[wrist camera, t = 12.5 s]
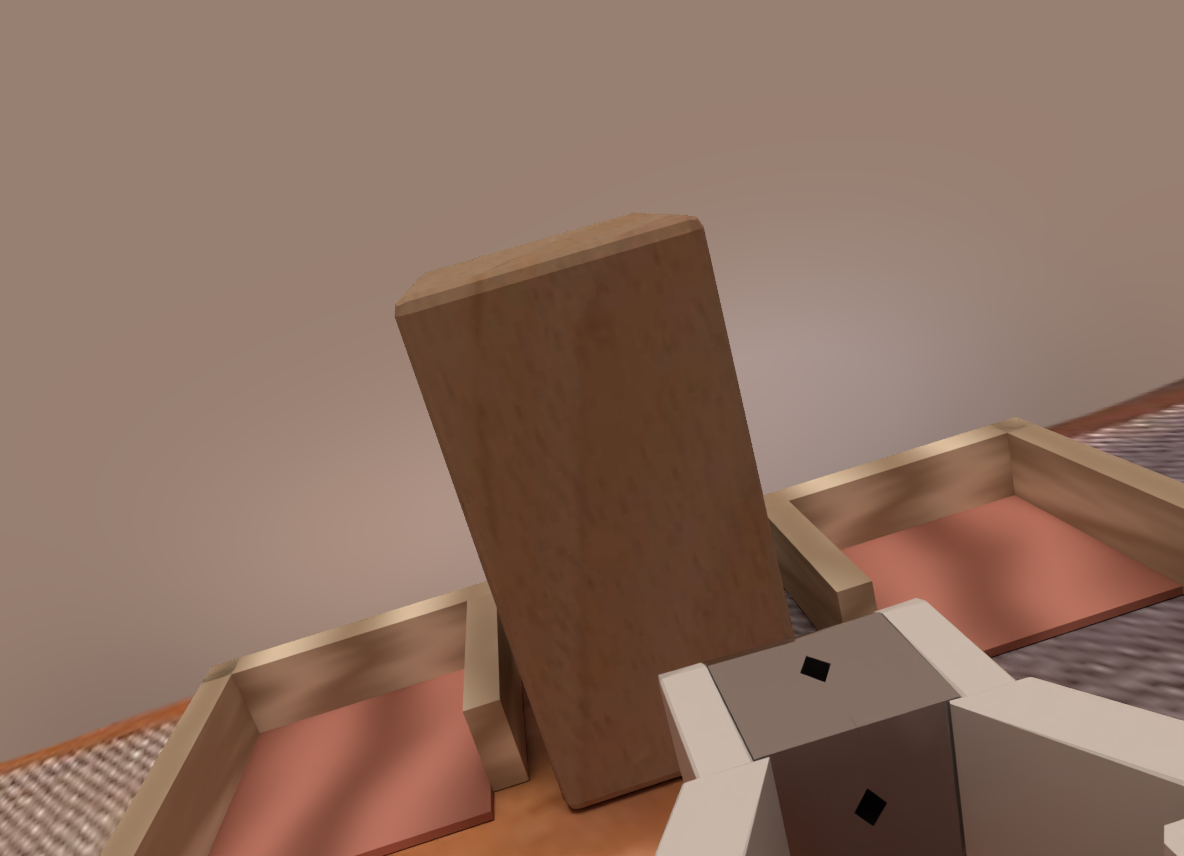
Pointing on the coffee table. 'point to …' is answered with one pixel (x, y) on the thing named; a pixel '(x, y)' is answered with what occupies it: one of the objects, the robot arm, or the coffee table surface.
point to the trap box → (493, 683)
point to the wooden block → (601, 477)
